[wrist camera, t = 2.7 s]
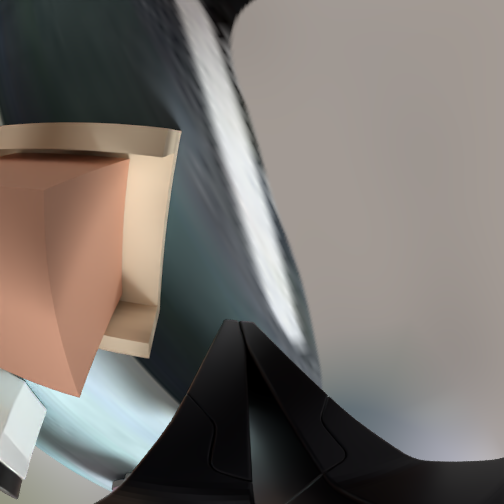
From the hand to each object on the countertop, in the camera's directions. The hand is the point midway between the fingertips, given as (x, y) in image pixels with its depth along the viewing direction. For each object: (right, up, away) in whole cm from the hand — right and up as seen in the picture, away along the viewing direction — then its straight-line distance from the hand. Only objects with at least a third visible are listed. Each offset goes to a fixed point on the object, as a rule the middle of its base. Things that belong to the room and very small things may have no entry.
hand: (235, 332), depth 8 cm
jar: (-25, -12, +10) cm, 29 cm away
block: (-9, +4, +4) cm, 10 cm away
